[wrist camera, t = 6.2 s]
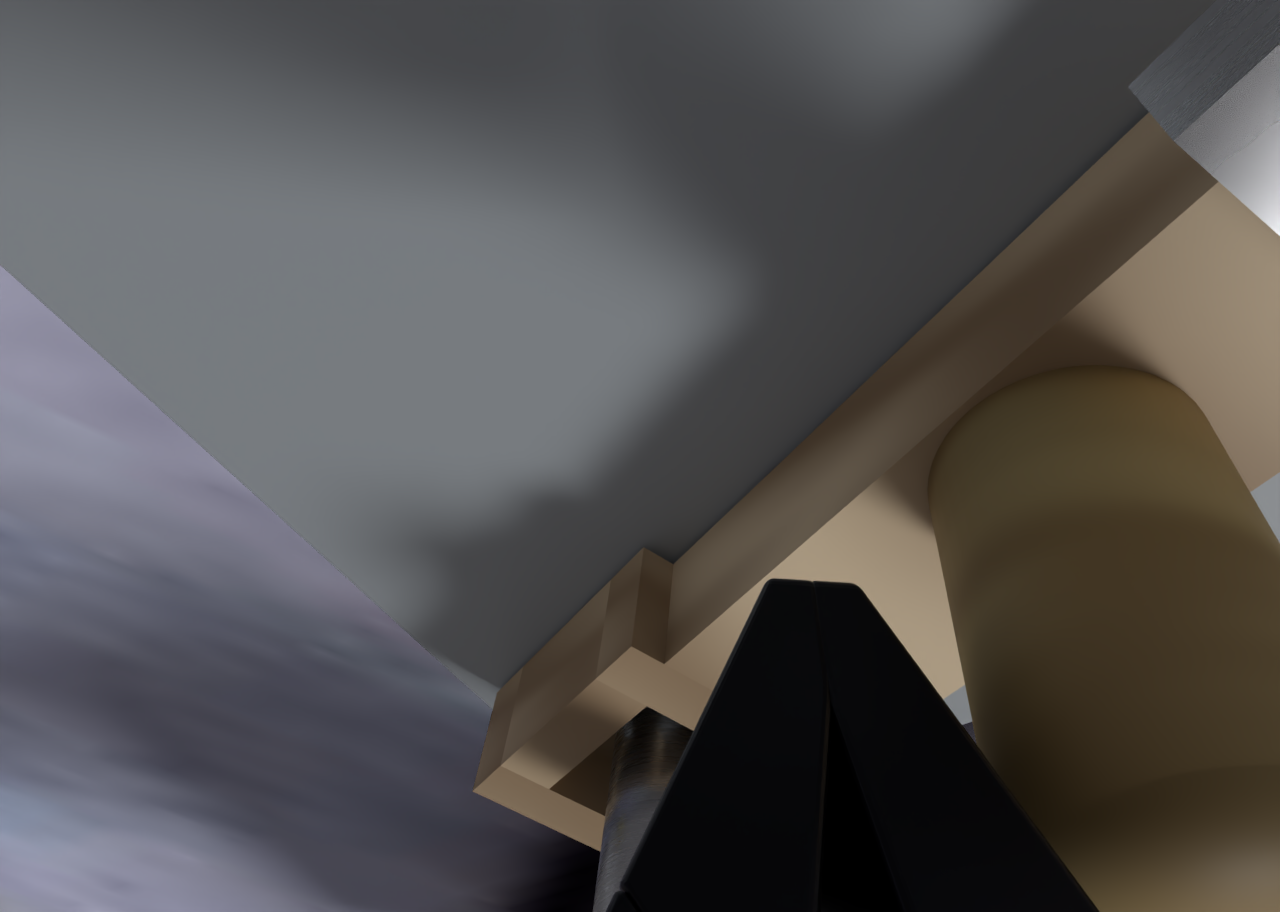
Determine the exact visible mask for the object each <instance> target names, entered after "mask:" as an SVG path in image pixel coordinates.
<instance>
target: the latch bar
mask: <svg viewBox="0 0 1280 912" xmlns="http://www.w3.org/2000/svg"><path fill="white" fill-rule="evenodd" d="M1279 472H1280V236H1279V235H1278V234H1277V233H1276V232H1275V231H1273V230H1272V229H1271V228H1270V227H1269V226H1268V225H1267V224H1266V223H1265V222H1263V221H1262V220H1261V219H1260V218H1259V217H1258V216H1257V215H1256V214H1254V213H1253V212H1252V211H1251V210H1250V209H1249V208H1248V207H1247V206H1245V205H1244V204H1243V203H1242V202H1241V201H1240V200H1239V199H1238V198H1237V197H1235V196H1234V195H1233V194H1232V193H1231V192H1230V191H1229V190H1228V189H1226V188H1225V187H1224V186H1223V185H1222V184H1221V183H1220V182H1219V181H1218V180H1216V179H1215V178H1214V177H1213V176H1212V175H1211V174H1210V173H1209V172H1207V171H1206V170H1205V169H1204V168H1203V167H1202V166H1201V165H1200V164H1199V163H1197V162H1196V161H1195V160H1194V159H1193V158H1192V157H1191V156H1190V155H1188V154H1187V153H1186V152H1185V151H1184V150H1183V149H1182V148H1181V147H1179V146H1178V145H1177V144H1176V143H1175V142H1174V141H1173V140H1172V139H1171V138H1170V136H1169V135H1168V134H1167V133H1166V132H1165V130H1164V129H1163V128H1162V127H1161V126H1160V125H1159V123H1158V122H1157V121H1156V120H1155V119H1154V117H1153V116H1152V115H1151V114H1150V113H1148V114H1146V115H1145V116H1144V117H1143V118H1142V119H1141V120H1140V121H1139V122H1138V123H1137V124H1136V125H1135V126H1134V127H1133V128H1132V129H1131V130H1130V131H1129V132H1128V133H1126V134H1125V135H1124V136H1123V137H1122V138H1121V139H1120V140H1119V141H1118V142H1117V143H1116V144H1115V145H1114V146H1113V147H1112V148H1111V149H1110V150H1109V151H1108V152H1106V153H1105V154H1104V155H1103V156H1102V157H1101V158H1100V159H1099V160H1098V161H1097V162H1096V163H1095V164H1094V165H1093V166H1092V167H1091V168H1090V169H1089V170H1088V171H1087V172H1085V173H1084V174H1083V175H1082V176H1081V177H1080V178H1079V179H1078V180H1077V181H1076V182H1075V183H1074V184H1073V185H1072V186H1071V187H1070V188H1069V189H1068V190H1067V191H1065V192H1064V193H1063V194H1062V195H1061V196H1060V197H1059V198H1058V199H1057V200H1056V201H1055V202H1054V203H1053V204H1052V205H1051V206H1050V207H1049V208H1048V209H1047V210H1045V211H1044V212H1043V213H1042V214H1041V215H1040V216H1039V217H1038V218H1037V219H1036V220H1035V221H1034V222H1033V223H1032V224H1031V225H1030V226H1029V227H1028V228H1027V229H1026V230H1024V231H1023V232H1022V233H1021V234H1020V235H1019V236H1018V237H1017V238H1016V239H1015V240H1014V241H1013V242H1012V243H1011V244H1010V245H1009V246H1008V247H1007V248H1006V249H1004V250H1003V251H1002V252H1001V253H1000V254H999V255H998V256H997V257H996V258H995V259H994V260H993V261H992V262H991V263H990V264H989V265H988V266H987V267H986V268H984V269H983V270H982V271H981V272H980V273H979V274H978V275H977V276H976V277H975V278H974V279H973V280H972V281H971V282H970V283H969V284H968V285H967V286H966V287H964V288H963V289H962V290H961V291H960V292H959V293H958V294H957V295H956V296H955V297H954V298H953V299H952V300H951V301H950V302H949V303H948V304H947V305H946V306H945V307H943V308H942V309H941V310H940V311H939V312H938V313H937V314H936V315H935V316H934V317H933V318H932V319H931V320H930V321H929V322H928V323H927V324H926V325H925V326H923V327H922V328H921V329H920V330H919V331H918V332H917V333H916V334H915V335H914V336H913V337H912V338H911V339H910V340H909V341H908V342H907V343H906V344H905V345H903V346H902V347H901V348H900V349H899V350H898V351H897V352H896V353H895V354H894V355H893V356H892V357H891V358H890V359H889V360H888V361H887V362H886V363H885V364H884V365H882V366H881V367H880V368H879V369H878V370H877V371H876V372H875V373H874V374H873V375H872V376H871V377H870V378H869V379H868V380H867V381H866V382H865V383H864V384H862V385H861V386H860V387H859V388H858V389H857V390H856V391H855V392H854V393H853V394H852V395H851V396H850V397H849V398H848V399H847V400H846V401H845V402H844V403H842V404H841V405H840V406H839V407H838V408H837V409H836V410H835V411H834V412H833V413H832V414H831V415H830V416H829V417H828V418H827V419H826V420H825V421H824V422H823V423H821V424H820V425H819V426H818V427H817V428H816V429H815V430H814V431H813V432H812V433H811V434H810V435H809V436H808V437H807V438H806V439H805V440H804V441H803V442H801V443H800V444H799V445H798V446H797V447H796V448H795V449H794V450H793V451H792V452H791V453H790V454H789V455H788V456H787V457H786V458H785V459H784V460H783V461H781V462H780V463H779V464H778V465H777V466H776V467H775V468H774V469H773V470H772V471H771V472H770V473H769V474H768V475H767V476H766V477H765V478H764V479H763V480H761V481H760V482H759V483H758V484H757V485H756V486H755V487H754V488H753V489H752V490H751V491H750V492H749V493H748V494H747V495H746V496H745V497H744V498H743V499H742V500H740V501H739V502H738V503H737V504H736V505H735V506H734V507H733V508H732V509H731V510H730V511H729V512H728V513H727V514H726V515H725V516H724V517H723V518H722V519H720V520H719V521H718V522H717V523H716V524H715V525H714V526H713V527H712V528H711V529H710V530H709V531H708V532H707V533H706V534H705V535H704V536H703V537H702V538H700V539H699V540H698V541H697V542H696V543H695V544H694V545H693V546H692V547H691V548H690V549H689V550H688V551H687V552H686V553H685V554H684V555H683V556H682V557H681V558H679V559H678V560H677V561H676V562H675V563H674V564H672V563H670V562H669V561H667V560H665V559H663V558H662V557H660V556H658V555H657V554H655V553H653V552H651V551H650V550H648V549H646V548H645V547H643V548H642V549H641V550H640V551H639V552H638V553H637V554H636V555H635V556H634V557H633V558H632V559H631V560H630V561H629V562H628V563H627V564H626V565H625V566H624V567H623V568H622V569H621V570H620V571H619V572H618V573H617V574H616V575H615V576H614V577H613V578H612V579H611V580H610V581H609V582H608V583H607V584H606V585H605V586H604V587H603V588H602V589H601V590H600V591H599V592H598V593H597V594H596V595H595V596H594V597H593V598H592V599H591V600H590V601H589V602H588V603H587V604H586V605H585V606H584V607H583V608H582V609H581V610H580V611H579V612H578V613H577V614H576V615H575V616H574V617H573V618H572V619H571V620H570V621H569V622H568V623H567V624H566V625H565V626H564V627H563V628H562V629H561V630H560V631H559V632H558V633H557V634H556V635H555V636H554V637H553V638H552V639H551V640H550V641H549V642H548V643H546V644H545V645H544V646H543V647H542V648H541V649H540V650H539V651H538V652H537V653H536V654H535V655H534V656H533V657H532V658H531V659H530V660H529V661H528V662H527V663H526V664H525V665H524V666H523V667H522V668H521V669H520V670H519V671H518V672H517V673H516V674H515V675H514V676H513V677H512V678H511V679H510V680H509V681H508V682H507V683H506V684H505V685H504V686H503V687H502V688H501V689H500V690H499V691H498V692H497V694H496V699H495V703H494V707H493V711H492V715H491V719H490V723H489V727H488V731H487V735H486V739H485V743H484V747H483V751H482V755H481V759H480V763H479V767H478V771H477V775H476V779H475V783H474V787H473V792H475V793H477V794H479V795H481V796H483V797H485V798H488V799H490V800H492V801H494V802H496V803H498V804H500V805H502V806H505V807H507V808H509V809H511V810H513V811H515V812H517V813H520V814H522V815H524V816H526V817H528V818H530V819H532V820H534V821H537V822H539V823H541V824H543V825H545V826H547V827H549V828H551V829H554V830H556V831H558V832H560V833H562V834H564V835H566V836H568V837H571V838H573V839H575V840H577V841H579V842H581V843H583V844H585V845H588V846H590V847H592V848H594V849H596V850H598V851H600V852H601V844H602V836H603V829H604V821H605V813H606V806H607V798H608V790H609V782H610V775H611V767H612V759H613V751H614V744H615V736H616V732H617V731H618V730H619V729H620V728H622V727H623V726H624V725H625V724H626V723H628V722H629V721H630V720H631V719H632V718H633V717H635V716H636V715H637V714H638V713H639V712H641V711H642V710H643V709H644V708H645V707H646V706H647V707H649V708H651V709H653V710H655V711H657V712H659V713H661V714H662V715H664V716H666V717H668V718H670V719H672V720H674V721H676V722H678V723H680V724H681V725H683V726H685V727H687V728H689V729H691V730H693V731H694V729H695V727H696V725H697V722H698V720H699V718H700V716H701V714H702V712H703V710H704V708H705V706H706V704H707V702H708V700H709V698H710V696H711V693H712V691H713V689H714V687H715V685H716V683H717V681H718V679H719V677H720V675H721V673H722V671H723V669H724V667H725V664H726V662H727V660H728V658H729V656H730V654H731V652H732V650H733V648H734V646H735V644H736V642H737V640H738V638H739V635H740V633H741V631H742V629H743V627H744V625H745V623H746V621H747V619H748V617H749V615H750V613H751V611H752V609H753V606H754V604H755V602H756V600H757V598H758V596H759V594H760V592H761V590H762V588H763V586H764V584H765V583H766V582H767V581H768V580H770V579H772V578H779V579H796V580H809V581H812V582H813V581H830V582H847V583H854V584H856V585H857V586H859V587H860V588H861V589H862V590H863V591H864V593H865V594H866V596H867V597H868V598H869V600H870V601H871V602H872V604H873V605H874V606H875V608H876V609H877V610H878V612H879V613H880V615H881V616H882V617H883V619H884V620H885V621H886V623H887V624H888V625H889V627H890V628H891V629H892V631H893V632H894V633H895V635H896V636H897V638H898V639H899V640H900V642H901V643H902V644H903V646H904V647H905V648H906V650H907V651H908V652H909V654H910V655H911V657H912V658H913V659H914V661H915V662H916V663H917V665H918V666H919V667H920V669H921V670H922V671H923V673H924V674H925V675H926V677H927V678H928V680H929V681H930V682H931V684H932V685H933V686H934V688H935V689H936V690H937V692H938V693H939V694H940V696H941V697H942V698H943V699H945V698H946V697H948V696H949V695H950V694H952V693H953V692H955V691H956V690H958V689H959V688H961V687H962V686H964V685H965V687H966V692H967V697H968V702H969V707H970V712H971V717H972V722H973V727H974V732H975V737H976V742H977V746H978V747H979V749H980V750H981V751H982V753H983V754H984V755H985V757H986V758H987V759H988V761H989V762H990V764H991V765H992V766H993V768H994V769H995V770H996V772H997V773H998V774H999V776H1000V777H1001V778H1002V780H1003V781H1004V782H1005V784H1006V785H1007V787H1008V788H1009V789H1010V791H1011V792H1012V793H1013V795H1014V796H1015V797H1016V799H1017V800H1018V801H1019V803H1020V804H1021V805H1022V807H1023V808H1024V810H1025V811H1026V812H1027V814H1028V815H1029V816H1030V818H1031V819H1032V820H1033V822H1034V823H1035V824H1036V826H1037V827H1038V829H1039V830H1040V831H1041V833H1042V834H1043V835H1044V837H1045V838H1046V839H1047V841H1048V842H1049V843H1050V845H1051V846H1052V847H1053V849H1054V850H1055V852H1056V853H1057V854H1058V856H1059V857H1060V858H1061V860H1062V861H1063V862H1064V864H1065V865H1066V866H1067V868H1068V869H1069V871H1070V872H1071V873H1072V875H1073V876H1074V877H1075V879H1076V880H1077V881H1078V883H1079V884H1080V885H1081V887H1082V888H1083V889H1084V891H1085V892H1086V894H1087V895H1088V896H1089V898H1090V899H1091V900H1092V902H1093V903H1094V904H1095V906H1096V907H1097V908H1098V910H1099V911H1100V912H1280V543H1279V541H1278V539H1277V537H1276V536H1275V534H1274V532H1273V531H1272V529H1271V527H1270V525H1269V524H1268V522H1267V520H1266V519H1265V517H1264V515H1263V513H1262V512H1261V510H1260V508H1259V507H1258V505H1257V503H1256V501H1255V500H1254V498H1253V496H1252V495H1251V493H1250V492H1251V491H1253V490H1254V489H1256V488H1257V487H1259V486H1260V485H1262V484H1263V483H1265V482H1266V481H1268V480H1269V479H1271V478H1272V477H1273V476H1275V475H1276V474H1278V473H1279Z"/></svg>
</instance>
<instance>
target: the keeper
mask: <svg viewBox="0 0 1280 912" xmlns="http://www.w3.org/2000/svg"><path fill="white" fill-rule="evenodd" d="M1128 88H1129V89H1130V90H1131V91H1132V92H1133V94H1134V95H1135V96H1136V97H1137V98H1138V100H1139V101H1140V102H1141V103H1142V104H1143V106H1144V107H1145V108H1146V109H1147V110H1148V111H1149V113H1150V114H1151V115H1152V116H1153V117H1154V119H1155V120H1156V121H1157V122H1158V123H1159V125H1160V126H1161V127H1162V128H1163V129H1164V130H1165V132H1166V133H1167V134H1168V135H1169V136H1170V138H1171V139H1172V140H1173V141H1174V142H1175V143H1176V144H1177V145H1178V146H1179V147H1181V148H1182V149H1183V150H1184V151H1185V152H1186V153H1187V154H1188V155H1190V156H1191V157H1192V158H1193V159H1194V160H1195V161H1196V162H1197V163H1199V164H1200V165H1201V166H1202V167H1203V168H1204V169H1205V170H1206V171H1207V172H1209V173H1210V174H1211V175H1212V176H1213V177H1214V178H1215V179H1216V180H1218V181H1219V182H1220V183H1221V184H1222V185H1223V186H1224V187H1225V188H1226V189H1228V190H1229V191H1230V192H1231V193H1232V194H1233V195H1234V196H1235V197H1237V198H1238V199H1239V200H1240V201H1241V202H1242V203H1243V204H1244V205H1245V206H1247V207H1248V208H1249V209H1250V210H1251V211H1252V212H1253V213H1254V214H1256V215H1257V216H1258V217H1259V218H1260V219H1261V220H1262V221H1263V222H1265V223H1266V224H1267V225H1268V226H1269V227H1270V228H1271V229H1272V230H1273V231H1275V232H1276V233H1277V234H1278V235H1279V236H1280V0H1216V1H1215V2H1214V3H1213V4H1212V5H1211V6H1210V7H1209V8H1208V9H1207V10H1206V11H1205V12H1204V13H1203V14H1202V15H1201V16H1200V17H1199V18H1198V19H1197V20H1196V21H1194V22H1193V23H1192V24H1191V25H1190V26H1189V27H1188V28H1187V29H1186V30H1185V31H1184V32H1183V33H1182V34H1181V35H1180V36H1179V37H1178V38H1177V39H1176V40H1175V41H1174V42H1173V43H1172V44H1171V45H1170V46H1169V47H1168V48H1167V49H1166V50H1165V51H1164V52H1163V53H1162V54H1161V55H1160V56H1158V57H1157V58H1156V59H1155V60H1154V61H1153V62H1152V63H1151V64H1150V65H1149V66H1148V67H1147V68H1146V69H1145V70H1144V71H1143V72H1142V73H1141V74H1140V75H1139V76H1138V77H1137V78H1136V79H1135V80H1134V81H1133V82H1132V83H1131V84H1130V85H1129V86H1128Z"/></svg>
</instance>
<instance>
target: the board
mask: <svg viewBox="0 0 1280 912" xmlns="http://www.w3.org/2000/svg"><path fill="white" fill-rule="evenodd" d="M1215 1H1216V0H0V265H1V266H2V267H3V268H4V269H5V270H6V271H8V272H9V273H10V274H11V275H12V276H13V277H14V278H15V279H16V280H18V281H19V282H20V283H21V284H22V285H23V286H24V287H25V288H26V289H27V290H29V291H30V292H31V293H32V294H33V295H34V296H35V297H36V298H37V299H39V300H40V301H41V302H42V303H43V304H44V305H45V306H46V307H47V308H49V309H50V310H51V311H52V312H53V313H54V314H55V315H56V316H57V317H58V318H60V319H61V320H62V321H63V322H64V323H65V324H66V325H67V326H68V327H70V328H71V329H72V330H73V331H74V332H75V333H76V334H77V335H78V336H79V337H81V338H82V339H83V340H84V341H85V342H86V343H87V344H88V345H89V346H91V347H92V348H93V349H94V350H95V351H96V352H97V353H98V354H99V355H101V356H102V357H103V358H104V359H105V360H106V361H107V362H108V363H109V364H110V365H112V366H113V367H114V368H115V369H116V370H117V371H118V372H119V373H120V374H122V375H123V376H124V377H125V378H126V379H127V380H128V381H129V382H130V383H131V384H133V385H134V386H135V387H136V388H137V389H138V390H139V391H140V392H141V393H143V394H144V395H145V396H146V397H147V398H148V399H149V400H150V401H151V402H153V403H154V404H155V405H156V406H157V407H158V408H159V409H160V410H161V411H162V412H164V413H165V414H166V415H167V416H168V417H169V418H170V419H171V420H172V421H174V422H175V423H176V424H177V425H178V426H179V427H180V428H181V429H182V430H183V431H185V432H186V433H187V434H188V435H189V436H190V437H191V438H192V439H193V440H195V441H196V442H197V443H198V444H199V445H200V446H201V447H202V448H203V449H205V450H206V451H207V452H208V453H209V454H210V455H211V456H212V457H213V458H214V459H216V460H217V461H218V462H219V463H220V464H221V465H222V466H223V467H224V468H226V469H227V470H228V471H229V472H230V473H231V474H232V475H233V476H234V477H236V478H237V479H238V480H239V481H240V482H241V483H242V484H243V485H244V486H245V487H247V488H248V489H249V490H250V491H251V492H252V493H253V494H254V495H255V496H257V497H258V498H259V499H260V500H261V501H262V502H263V503H264V504H265V505H266V506H268V507H269V508H270V509H271V510H272V511H273V512H274V513H275V514H276V515H278V516H279V517H280V518H281V519H282V520H283V521H284V522H285V523H286V524H288V525H289V526H290V527H291V528H292V529H293V530H294V531H295V532H296V533H297V534H299V535H300V536H301V537H302V538H303V539H304V540H305V541H306V542H307V543H309V544H310V545H311V546H312V547H313V548H314V549H315V550H316V551H317V552H318V553H320V554H321V555H322V556H323V557H324V558H325V559H326V560H327V561H328V562H330V563H331V564H332V565H333V566H334V567H335V568H336V569H337V570H338V571H340V572H341V573H342V574H343V575H344V576H345V577H346V578H347V579H348V580H349V581H351V582H352V583H353V584H354V585H355V586H356V587H357V588H358V589H359V590H361V591H362V592H363V593H364V594H365V595H366V596H367V597H368V598H369V599H370V600H372V601H373V602H374V603H375V604H376V605H377V606H378V607H379V608H380V609H382V610H383V611H384V612H385V613H386V614H387V615H388V616H389V617H390V618H392V619H393V620H394V621H395V622H396V623H397V624H398V625H399V626H400V627H401V628H403V629H404V630H405V631H406V632H407V633H408V634H409V635H410V636H411V637H413V638H414V639H415V640H416V641H417V642H418V643H419V644H420V645H421V646H422V647H424V648H425V649H426V650H427V651H428V652H429V653H430V654H431V655H432V656H434V657H435V658H436V659H437V660H438V661H439V662H440V663H441V664H442V665H444V666H445V667H446V668H447V669H448V670H449V671H450V672H451V673H452V674H453V675H455V676H456V677H457V678H458V679H459V680H460V681H461V682H462V683H463V684H465V685H466V686H467V687H468V688H469V689H470V690H471V691H472V692H473V693H474V694H476V695H477V696H478V697H479V698H480V699H481V700H482V701H483V702H484V703H486V704H487V705H488V706H489V707H490V708H491V709H492V710H493V707H494V703H495V699H496V694H497V692H498V691H499V690H500V689H501V688H502V687H503V686H504V685H505V684H506V683H507V682H508V681H509V680H510V679H511V678H512V677H513V676H514V675H515V674H516V673H517V672H518V671H519V670H520V669H521V668H522V667H523V666H524V665H525V664H526V663H527V662H528V661H529V660H530V659H531V658H532V657H533V656H534V655H535V654H536V653H537V652H538V651H539V650H540V649H541V648H542V647H543V646H544V645H545V644H546V643H548V642H549V641H550V640H551V639H552V638H553V637H554V636H555V635H556V634H557V633H558V632H559V631H560V630H561V629H562V628H563V627H564V626H565V625H566V624H567V623H568V622H569V621H570V620H571V619H572V618H573V617H574V616H575V615H576V614H577V613H578V612H579V611H580V610H581V609H582V608H583V607H584V606H585V605H586V604H587V603H588V602H589V601H590V600H591V599H592V598H593V597H594V596H595V595H596V594H597V593H598V592H599V591H600V590H601V589H602V588H603V587H604V586H605V585H606V584H607V583H608V582H609V581H610V580H611V579H612V578H613V577H614V576H615V575H616V574H617V573H618V572H619V571H620V570H621V569H622V568H623V567H624V566H625V565H626V564H627V563H628V562H629V561H630V560H631V559H632V558H633V557H634V556H635V555H636V554H637V553H638V552H639V551H640V550H641V549H642V548H643V547H645V548H646V549H648V550H650V551H651V552H653V553H655V554H657V555H658V556H660V557H662V558H663V559H665V560H667V561H669V562H670V563H672V564H674V563H675V562H676V561H677V560H678V559H679V558H681V557H682V556H683V555H684V554H685V553H686V552H687V551H688V550H689V549H690V548H691V547H692V546H693V545H694V544H695V543H696V542H697V541H698V540H699V539H700V538H702V537H703V536H704V535H705V534H706V533H707V532H708V531H709V530H710V529H711V528H712V527H713V526H714V525H715V524H716V523H717V522H718V521H719V520H720V519H722V518H723V517H724V516H725V515H726V514H727V513H728V512H729V511H730V510H731V509H732V508H733V507H734V506H735V505H736V504H737V503H738V502H739V501H740V500H742V499H743V498H744V497H745V496H746V495H747V494H748V493H749V492H750V491H751V490H752V489H753V488H754V487H755V486H756V485H757V484H758V483H759V482H760V481H761V480H763V479H764V478H765V477H766V476H767V475H768V474H769V473H770V472H771V471H772V470H773V469H774V468H775V467H776V466H777V465H778V464H779V463H780V462H781V461H783V460H784V459H785V458H786V457H787V456H788V455H789V454H790V453H791V452H792V451H793V450H794V449H795V448H796V447H797V446H798V445H799V444H800V443H801V442H803V441H804V440H805V439H806V438H807V437H808V436H809V435H810V434H811V433H812V432H813V431H814V430H815V429H816V428H817V427H818V426H819V425H820V424H821V423H823V422H824V421H825V420H826V419H827V418H828V417H829V416H830V415H831V414H832V413H833V412H834V411H835V410H836V409H837V408H838V407H839V406H840V405H841V404H842V403H844V402H845V401H846V400H847V399H848V398H849V397H850V396H851V395H852V394H853V393H854V392H855V391H856V390H857V389H858V388H859V387H860V386H861V385H862V384H864V383H865V382H866V381H867V380H868V379H869V378H870V377H871V376H872V375H873V374H874V373H875V372H876V371H877V370H878V369H879V368H880V367H881V366H882V365H884V364H885V363H886V362H887V361H888V360H889V359H890V358H891V357H892V356H893V355H894V354H895V353H896V352H897V351H898V350H899V349H900V348H901V347H902V346H903V345H905V344H906V343H907V342H908V341H909V340H910V339H911V338H912V337H913V336H914V335H915V334H916V333H917V332H918V331H919V330H920V329H921V328H922V327H923V326H925V325H926V324H927V323H928V322H929V321H930V320H931V319H932V318H933V317H934V316H935V315H936V314H937V313H938V312H939V311H940V310H941V309H942V308H943V307H945V306H946V305H947V304H948V303H949V302H950V301H951V300H952V299H953V298H954V297H955V296H956V295H957V294H958V293H959V292H960V291H961V290H962V289H963V288H964V287H966V286H967V285H968V284H969V283H970V282H971V281H972V280H973V279H974V278H975V277H976V276H977V275H978V274H979V273H980V272H981V271H982V270H983V269H984V268H986V267H987V266H988V265H989V264H990V263H991V262H992V261H993V260H994V259H995V258H996V257H997V256H998V255H999V254H1000V253H1001V252H1002V251H1003V250H1004V249H1006V248H1007V247H1008V246H1009V245H1010V244H1011V243H1012V242H1013V241H1014V240H1015V239H1016V238H1017V237H1018V236H1019V235H1020V234H1021V233H1022V232H1023V231H1024V230H1026V229H1027V228H1028V227H1029V226H1030V225H1031V224H1032V223H1033V222H1034V221H1035V220H1036V219H1037V218H1038V217H1039V216H1040V215H1041V214H1042V213H1043V212H1044V211H1045V210H1047V209H1048V208H1049V207H1050V206H1051V205H1052V204H1053V203H1054V202H1055V201H1056V200H1057V199H1058V198H1059V197H1060V196H1061V195H1062V194H1063V193H1064V192H1065V191H1067V190H1068V189H1069V188H1070V187H1071V186H1072V185H1073V184H1074V183H1075V182H1076V181H1077V180H1078V179H1079V178H1080V177H1081V176H1082V175H1083V174H1084V173H1085V172H1087V171H1088V170H1089V169H1090V168H1091V167H1092V166H1093V165H1094V164H1095V163H1096V162H1097V161H1098V160H1099V159H1100V158H1101V157H1102V156H1103V155H1104V154H1105V153H1106V152H1108V151H1109V150H1110V149H1111V148H1112V147H1113V146H1114V145H1115V144H1116V143H1117V142H1118V141H1119V140H1120V139H1121V138H1122V137H1123V136H1124V135H1125V134H1126V133H1128V132H1129V131H1130V130H1131V129H1132V128H1133V127H1134V126H1135V125H1136V124H1137V123H1138V122H1139V121H1140V120H1141V119H1142V118H1143V117H1144V116H1145V115H1146V114H1148V113H1149V111H1148V110H1147V109H1146V108H1145V107H1144V106H1143V104H1142V103H1141V102H1140V101H1139V100H1138V98H1137V97H1136V96H1135V95H1134V94H1133V92H1132V91H1131V90H1130V89H1129V88H1128V86H1129V85H1130V84H1131V83H1132V82H1133V81H1134V80H1135V79H1136V78H1137V77H1138V76H1139V75H1140V74H1141V73H1142V72H1143V71H1144V70H1145V69H1146V68H1147V67H1148V66H1149V65H1150V64H1151V63H1152V62H1153V61H1154V60H1155V59H1156V58H1157V57H1158V56H1160V55H1161V54H1162V53H1163V52H1164V51H1165V50H1166V49H1167V48H1168V47H1169V46H1170V45H1171V44H1172V43H1173V42H1174V41H1175V40H1176V39H1177V38H1178V37H1179V36H1180V35H1181V34H1182V33H1183V32H1184V31H1185V30H1186V29H1187V28H1188V27H1189V26H1190V25H1191V24H1192V23H1193V22H1194V21H1196V20H1197V19H1198V18H1199V17H1200V16H1201V15H1202V14H1203V13H1204V12H1205V11H1206V10H1207V9H1208V8H1209V7H1210V6H1211V5H1212V4H1213V3H1214V2H1215ZM1250 493H1251V495H1252V496H1253V498H1254V500H1255V501H1256V503H1257V505H1258V507H1259V508H1260V510H1261V512H1262V513H1263V515H1264V517H1265V519H1266V520H1267V522H1268V524H1269V525H1270V527H1271V529H1272V531H1273V532H1274V534H1275V536H1276V537H1277V539H1278V541H1279V543H1280V472H1279V473H1278V474H1276V475H1275V476H1273V477H1272V478H1271V479H1269V480H1268V481H1266V482H1265V483H1263V484H1262V485H1260V486H1259V487H1257V488H1256V489H1254V490H1253V491H1251V492H1250ZM943 700H944V701H945V703H946V704H947V705H948V707H949V708H950V709H951V711H952V712H953V713H954V715H955V716H956V717H957V719H958V720H959V722H960V723H961V724H962V725H963V724H966V723H969V722H972V717H971V712H970V707H969V702H968V697H967V692H966V687H965V685H964V686H962V687H961V688H959V689H958V690H956V691H955V692H953V693H952V694H950V695H949V696H948V697H946V698H945V699H943Z"/></svg>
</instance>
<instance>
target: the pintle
mask: <svg viewBox="0 0 1280 912" xmlns="http://www.w3.org/2000/svg"><path fill="white" fill-rule="evenodd" d="M692 733H693V730H691V729H689V728H687V727H685V726H683V725H681V724H680V723H678V722H676V721H674V720H672V719H670V718H668V717H666V716H664V715H662V714H661V713H659V712H657V711H655V710H653V709H651V708H649V707H647V706H646V707H645V708H644V709H643V710H642V711H641V712H639V713H638V714H637V715H636V716H635V717H633V718H632V719H631V720H630V721H629V722H628V723H626V724H625V725H624V726H623V727H622V728H620V729H619V730H618V731H617V732H616V736H615V744H614V751H613V759H612V767H611V775H610V782H609V790H608V798H607V806H606V813H605V821H604V829H603V836H602V844H601V852H600V860H599V867H598V875H597V883H596V891H595V898H594V906H593V912H606V909H607V907H608V905H609V903H610V901H611V899H612V897H613V895H614V893H615V892H617V891H619V885H620V882H621V880H622V878H623V876H624V874H625V872H626V870H627V867H628V865H629V863H630V861H631V859H632V857H633V855H634V853H635V851H636V849H637V847H638V845H639V843H640V841H641V838H642V836H643V834H644V832H645V830H646V828H647V826H648V824H649V822H650V820H651V818H652V816H653V814H654V812H655V809H656V807H657V805H658V803H659V801H660V799H661V797H662V795H663V793H664V791H665V789H666V787H667V785H668V783H669V780H670V778H671V776H672V774H673V772H674V770H675V768H676V766H677V764H678V762H679V760H680V758H681V756H682V754H683V751H684V749H685V747H686V745H687V743H688V741H689V739H690V737H691V735H692Z"/></svg>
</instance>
